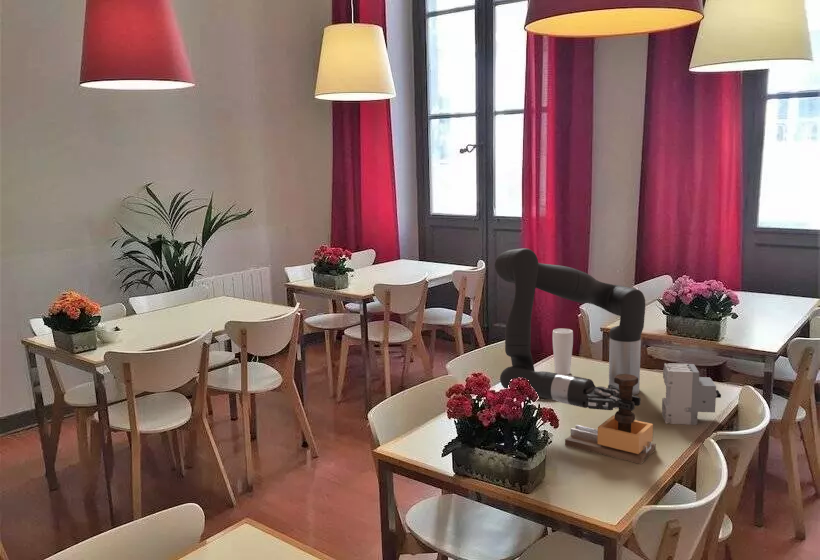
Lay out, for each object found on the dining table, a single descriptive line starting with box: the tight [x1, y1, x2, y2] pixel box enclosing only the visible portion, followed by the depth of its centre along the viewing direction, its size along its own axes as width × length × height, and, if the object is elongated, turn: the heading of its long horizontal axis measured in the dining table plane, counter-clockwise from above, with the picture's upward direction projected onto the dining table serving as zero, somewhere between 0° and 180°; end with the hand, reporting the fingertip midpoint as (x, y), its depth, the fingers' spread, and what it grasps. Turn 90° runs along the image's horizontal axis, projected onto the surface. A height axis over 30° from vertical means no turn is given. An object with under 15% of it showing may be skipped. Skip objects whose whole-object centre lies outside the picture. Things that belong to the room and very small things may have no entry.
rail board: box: [564, 434, 657, 465], centre depth 178 cm, size 10×20×2 cm, turn 51°
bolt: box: [614, 374, 638, 433], centre depth 174 cm, size 6×5×15 cm
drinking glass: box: [552, 328, 574, 375], centre depth 237 cm, size 7×7×15 cm
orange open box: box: [597, 414, 654, 454], centre depth 175 cm, size 10×10×4 cm
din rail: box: [570, 424, 652, 453], centre depth 178 cm, size 4×20×2 cm, turn 51°
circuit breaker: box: [661, 362, 722, 426], centre depth 193 cm, size 8×14×15 cm, turn 78°
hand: (636, 403), depth 172 cm, fingers closed on bolt, 3 cm apart
